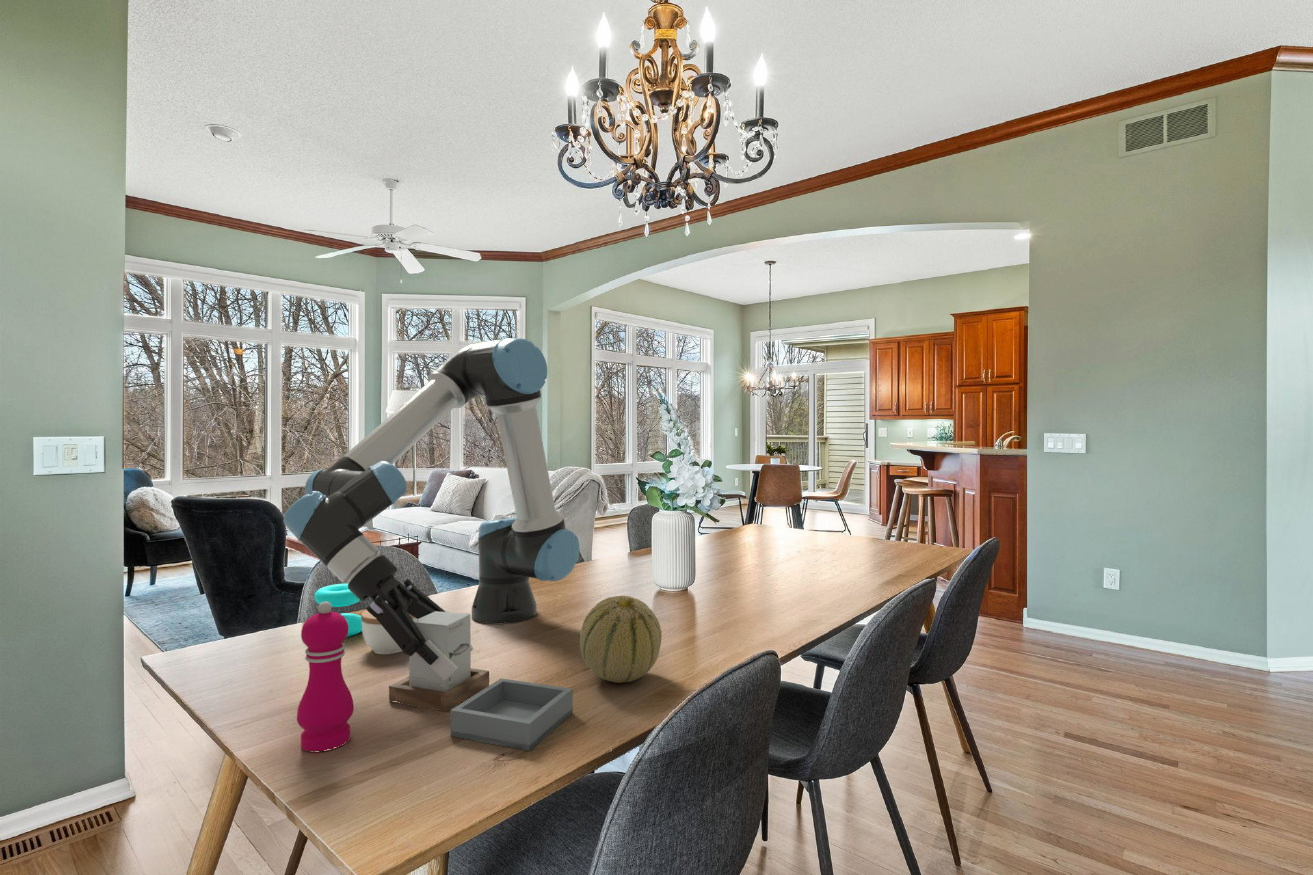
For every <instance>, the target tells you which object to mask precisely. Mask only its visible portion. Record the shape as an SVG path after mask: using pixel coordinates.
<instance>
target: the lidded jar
mask: <svg viewBox="0 0 1313 875" xmlns="http://www.w3.org/2000/svg"><path fill="white" fill-rule="evenodd" d="M382 613H383V612H382ZM409 615H410V614H409ZM360 616H361V620H362V631H361V632H362V636H363V640H364V642H365V644H366V645H367V647H369V648H370V649H371V650H372V651H373V652H375V654H376V653H377V655H393V654H398V653H401V652H403V651H402V650H401V648H400V647H399V646H398V645H397V643H396V642H395V641H394V640H393V639H392V637H391V636H390V635H389V634H388V632H387V631H386V630H385V629H384V627H383V626H382V625H381V624H380V623H379V621H378V620H377V619H376V618H375V617H374V616H373V615H371V614H370V613H369V612H368V611H367V609H366V610H364V611H362V612H361V614H360ZM410 616H411V618H412V619H413V621H414V620H417V618H415V617H414V616H412V615H410ZM405 644H406V643H405ZM397 652H398V653H397Z"/></svg>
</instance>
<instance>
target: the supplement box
mask: <svg viewBox="0 0 1313 875" xmlns="http://www.w3.org/2000/svg"><path fill="white" fill-rule="evenodd" d="M414 623H415V624H416V626H417V627H418V629H419V631H420V632H421V634H422V635H423V637H424V638H425V640H426V642H427V641H428V640H429V639H430V640H431V641H432V642H433V643H434V644H435V645H436V646H437V647H438V648H439V649H440V650H441V651H442V652H443V653H444V654H445V655H446V656H447V657H448V658H449V659H450V660H451V661H452V662H453V663H454V664H455V665H456V666H457V667H458V668H457V669H456V670H455V671H454V672H453V673H452V674H451V675H450V676H449V677H448V678H447V679H446V680H445V681H444V680H443V679H442V678H441V677H440V676H439V675H438V674H437V673H436V672H435V671H434V670H433V669H432V668H431V667H430V666H429V665H428V664H427V663H426V662H425V661H424V660H423V659H422V658H421V657H420V656H419V655H418V654H417V653H416V652H415V653H414V654H413V655H412V656H409V655H408V656H409V658H408V660H409V662H408V664H409V665H408V666H409V668H408V670H409V672H408V673H409V674H408V675H409V686H412V687H418V688H424V689H431V690H437V691H443V692H447V691H448V690H450V689H452V688H453V687H455V686H457V685H459V684H460V683H462V682H464V681H465V680H467V679H469V678H471V668H472V667H471V666H472V665H471V661H472V660H471V652H472V651H471V645H472V644H471V636H472V635H471V613H462V612H450V611H449V612H448V611H446V612H438V611H435V612H433V613H431V614H428V615H426V616H424V617H421V618H419V619H417V620H414ZM426 642H425V643H426Z"/></svg>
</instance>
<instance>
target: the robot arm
mask: <svg viewBox="0 0 1313 875" xmlns="http://www.w3.org/2000/svg"><path fill="white" fill-rule="evenodd" d="M547 364H548V363H547V360H546V358H545V356H544V353H542V351H541V349H540V348H539V347H538V346H537V345H535V344H534V343H533V342H532V341H530V340H528V339H526V338H519V337H516V338H515V337H509V338H508V337H506V338H503V339H496V340H489V341H480V342H474V343H471V344H469V345H467V346H465V347H463V348H461V349H459V350H458V351H457V352H456V353H454V354H453V355H452V356H451V357H449V358H448V359H447V360H445V361H444V362H443V363H442V364H441V365H439V366H438V367H437V368H436V369H434V371H432V372H431V373H430V374H429V375H428V382H427V383H426V384H425V385H424V386H423V387H422V388H420V389H419V390H418V391H417V392H415V394H413V395H412V396H411V397H410V398H409V399H408V400H406V401H405V402H404V403H403V404H402V405H400V406H399V407H398V408H397V409H395V411H394V412H392V414H390V415H389V416H388V417H387V418H386V419H384V420H383V421H382V422H381V423H380V424H379V425H378V426H377V427H376V428H374V429H373V430H372V431H370V433H369V434H367V435H366V436H365V437H364V438H362V440H360V441H359V442H358V443H357V444H355V445H354V447H352V448H351V449H350V450H348V451H347V453H345V454H344V455H343V456H342V457H340V459H338V460H337V461H336V462H334V463H333V464H331V466H330V467H325V468H321V469H317V470H315V471H314V472H312V473H311V474H310V475H309V476H308V478H307V480H306V482H305V486H304V493H305V494H304V495H303V496H301V497H299V499H297V500H296V501H295V502H294V503H293V504H291V505H290V507H288V509H287V510H286V511H285V513H284V515H283V524H284V525H285V526H286V528H287V529H288V530H289V531H290V532H291V533H292V534H293V535H294V537H295V538H296V539H297V541H298V542H300V543H301V544H302V545H303V546H305V548H307V550H309V552H311V553H312V554H313V555H314V556H315V557H316V558H317V559H318V560H319V561H321V563H322V564H323V565H324V566H325V567H326V568H328V570H329V571H330V572H331V575H332V577H335V578H338V579H339V581H341V583H342V584H348V589H349V590H350V591H351V592H352V593H353V594H354V595H355V596H356V597H357V598H358V599H359V600H360V602H364V601H367V600H368V599H371V603H370V604H369V605H368V606H367V607H366V610H367V611H368V612H369V613H370V614H371V615H373V616H374V617H375V618H376V619H377V620H378V621H379V623H380V624H381V625H382V626H383V627H384V629H385V630H386V631H387V632H388V634H389V635H390V636H391V637H392V639H393V640H394V641H395V642H396V643H397V645H398V646H399V647H400V648H401V650H402V651H401V652H403V653H404V654H406V655H408V656H412V655H413V654H414V653H415V652H416V653H417V654H418V655H419V656H420V657H421V658H422V659H423V660H424V661H425V662H426V663H427V664H428V665H429V666H430V667H431V668H432V669H433V670H434V671H435V672H436V673H437V674H438V675H439V676H440V677H441V678H442V679H443V680H444V681H445V680H446V679H447V678H448V677H449V676H450V675H451V674H452V673H453V672H454V671H455V670H456V669H457V668H458V667H457V666H456V665H455V664H454V663H453V662H452V661H451V660H450V659H449V658H448V657H447V656H446V655H445V654H444V653H443V652H442V651H441V650H440V649H439V648H438V647H437V646H436V645H435V644H434V643H433V642H432V641H431V640H430V639H429V640H428V641H427V642H426V640H425V638H424V637H423V635H422V634H421V632H420V631H419V629H418V627H417V626H416V624H415V623H414V621H413V619H412V618H411V616H410V615H412V616H414V617H415V618H417V619H419V618H421V617H424V616H426V615H428V614H431V613H433V612H435V611H438V612H447V611H446V610H444V609H443V608H442V607H441V606H439V605H438V604H437V603H436V602H435V601H433V600H432V599H431V598H430V597H429V596H427V594H425V593H424V592H422V591H421V590H420V589H419V588H418V587H417V586H416V585H415V584H414V583H413V582H412V581H411V580H410V579H408V578H407V579H405V580H404V581H403V582H401V581H399V580H397V578H395V577H394V575H395V574H396V573H397V571H398V568H397V566H396V565H395V564H394V563H393V562H392V561H391V560H390V559H389V558H388V557H387V556H386V555H383V554H380V553H381V551H380V549H379V548H378V547H377V546H376V545H375V544H374V543H373V542H372V541H371V540H370V539H369V538H368V537H367V536H365V534H364V533H363V532H361V531H360V529H361V528H363V527H364V526H366V524H367V523H368V524H369V522H370V521H372V520H373V519H374V518H376V517H378V515H380V514H381V513H382V512H384V511H385V510H387V509H388V508H389V507H391V506H392V505H394V504H395V503H396V502H397V501H398V500H399V499H400V498H402V496H404V495H405V494H406V493H407V488H408V485H407V484H408V483H407V480H406V479H405V476H404V475H403V473H402V472H401V471H400V470H399V468H397V467H396V466H395V465H394V464H395V463H396V462H397V461H398V460H399V459H400V458H401V457H403V456H404V455H405V454H406V453H407V452H408V451H409V450H410V449H412V447H413V446H414V445H415V444H416V443H418V442H419V440H421V439H422V438H423V437H424V436H425V435H426V434H427V433H429V431H431V430H432V429H433V428H434V427H435V426H436V425H437V424H438V423H439V422H441V421H442V420H443V418H445V417H446V416H447V415H448V414H449V413H450V412H451V411H452V410H453V409H462V407H464V406H465V405H466V404H467V403H468V402H470V401H471V400H473V399H475V398H478V397H482V396H484V397H485V403H486V407H487V408H488V409H489V410H491V411H493V412H494V413H495V416H496V420H497V424H498V429H499V434H500V439H501V444H502V450H503V455H504V459H505V464H506V470H507V473H508V480H509V484H510V489H511V494H512V500H513V505H514V509H515V517H509V518H499V519H491V520H484V521H482V522H481V524H480V525H479V530H478V537H477V540H478V576H479V578H478V587H477V590H476V594H475V597H474V599H473V602H472V606H471V619H472V620H473V621H476V622H480V623H483V624H496V625H497V624H511V623H518V622H519V623H520V622H523V621H525V620H530V619H532V618H534V617H535V616H536V615H537V612H538V610H537V608H538V607H537V605H538V604H537V601H536V599H535V596H534V593H533V590H532V586H531V583H530V578H531V579H537V580H539V581H542V582H558V581H561V580H563V579H565V578H566V577H567V576H569V575H570V574H571V573H572V571H574V568H575V565H576V564H577V563H578V561H579V557H580V556H579V555H580V541H579V539H578V536H577V535H576V533H574V532H573V531H572V530H571V529H567V528H566V522H565V519H564V515H563V514H562V513H561V512H560V511H558V510H556V507H555V506H556V505H555V502H554V496H553V491H552V486H551V481H550V480H551V479H550V474H549V470H548V465H547V464H548V463H547V458H546V453H545V448H544V443H543V437H542V432H541V427H540V420H539V416H538V411H537V405H538V403H539V402H540V400H541V399H542V393H541V389H542V388H543V387H544V385H545V383H546V379H547V378H548V365H547ZM382 612H383V613H382ZM409 614H410V615H409ZM425 642H426V643H425ZM405 643H406V644H405ZM473 650H474V646H473V645H472V644H471V652H472V651H473Z"/></svg>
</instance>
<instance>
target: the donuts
mask: <svg viewBox="0 0 1313 875" xmlns="http://www.w3.org/2000/svg"><path fill="white" fill-rule="evenodd" d="M348 584H349V583H335V584H331V585H326V586H323V587H320V588H318V589H317V591H315V594H314V600H315V602H316V603H317V604H318V605H320V604H321V603H322V602H329V603H331V605H332V608H340V607H342V608H343V607H347V606H352V605H355V604H356V603H359V602H361V600H359V599H358V598H357V597H356V596H355V595H354V594H353V593H352V592H351V591H350V590H349V589H348ZM340 614H341V615H343V616H344V617H345V619H346V620H347V623H348V635H347V637H346V638H349V637H352V636H355V635H358V634H359V633H361V632H362V620H361V615H360V614H355V613H349V612H345V613H344V612H343V613H340Z"/></svg>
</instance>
